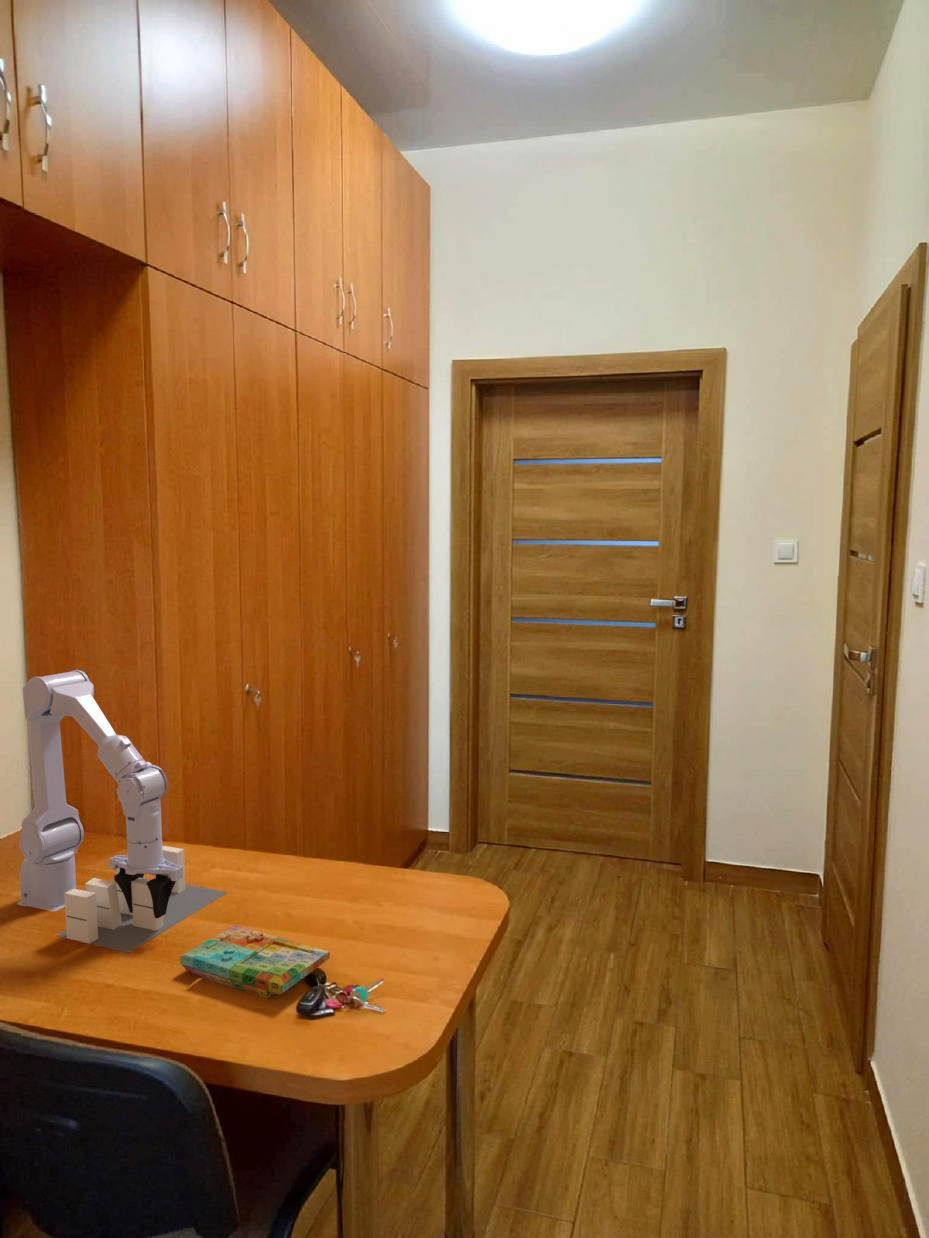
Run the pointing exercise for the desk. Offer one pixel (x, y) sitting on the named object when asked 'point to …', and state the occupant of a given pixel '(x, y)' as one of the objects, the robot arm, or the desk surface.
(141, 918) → the domino
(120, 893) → the domino
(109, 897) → the domino
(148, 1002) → the desk surface
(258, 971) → the puzzle game
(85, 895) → the domino
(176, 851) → the domino
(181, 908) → the mat
